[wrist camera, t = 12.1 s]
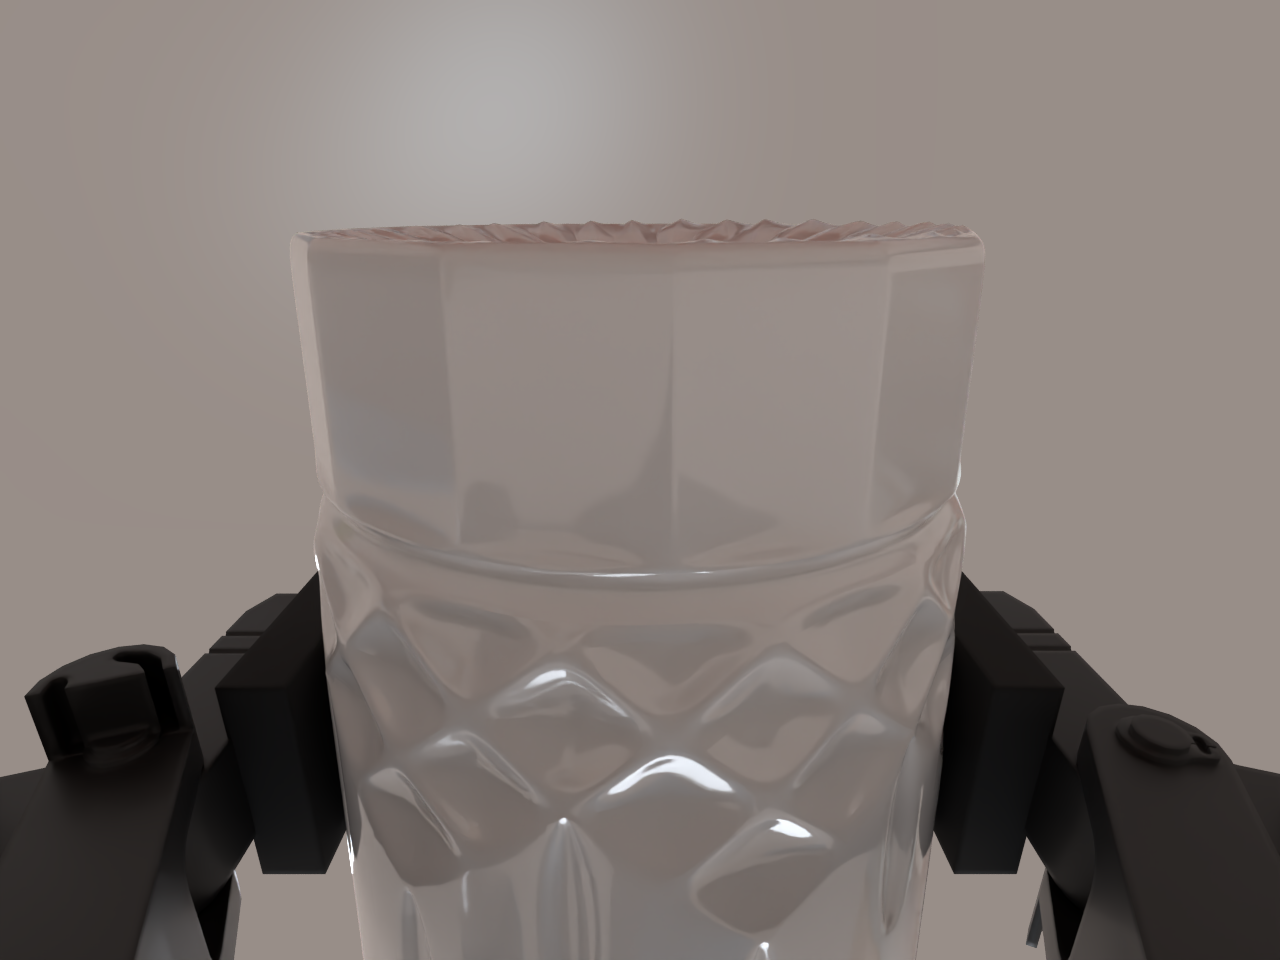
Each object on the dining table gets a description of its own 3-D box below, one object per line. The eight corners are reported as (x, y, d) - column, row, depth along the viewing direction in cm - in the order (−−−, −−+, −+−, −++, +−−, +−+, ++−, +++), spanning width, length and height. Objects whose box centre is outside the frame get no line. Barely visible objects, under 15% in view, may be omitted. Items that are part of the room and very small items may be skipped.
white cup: (1339, 229, 5) (1047, 1109, 9) (795, 216, 12) (760, 701, 16) (-26, 245, 3) (345, 1405, 6) (288, 218, 10) (382, 778, 13)
